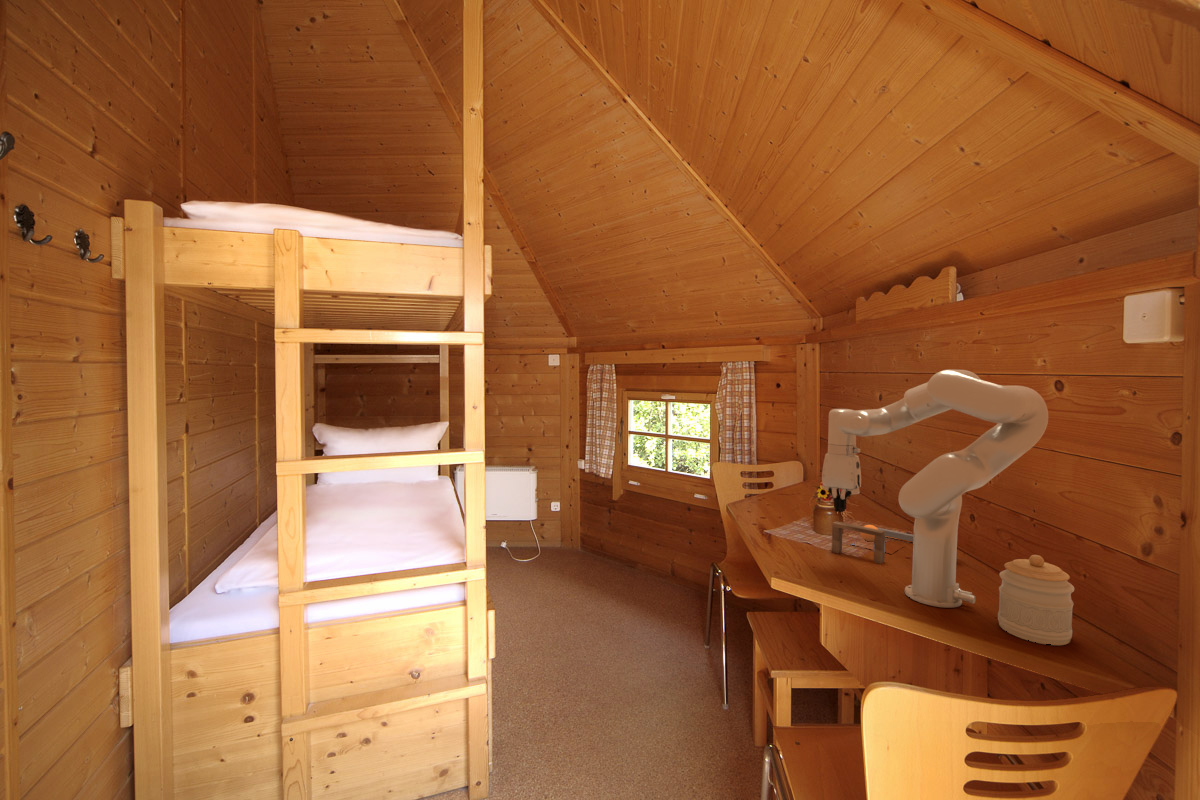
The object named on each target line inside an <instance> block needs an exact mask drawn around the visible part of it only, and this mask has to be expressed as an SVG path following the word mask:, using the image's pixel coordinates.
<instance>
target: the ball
mask: <svg viewBox="0 0 1200 800" xmlns="http://www.w3.org/2000/svg"><path fill="white" fill-rule="evenodd" d="M863 527H867V528H872V529H877V530H878V528H879V527H876V526H875V525H874V524H867V525H866V524H865V525H863ZM860 537H861V539H862V538H863V539H864V540H865V541H867V542H874V538H875V535H870V534H866V533H861V532H860Z"/></svg>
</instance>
